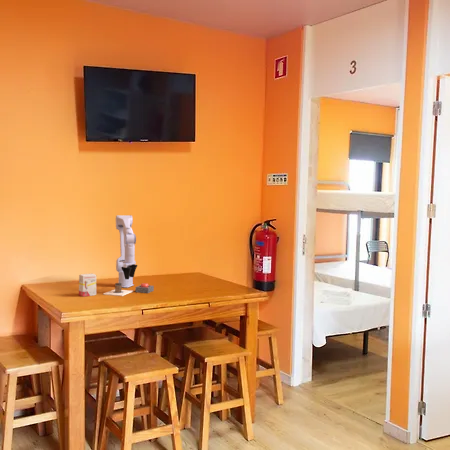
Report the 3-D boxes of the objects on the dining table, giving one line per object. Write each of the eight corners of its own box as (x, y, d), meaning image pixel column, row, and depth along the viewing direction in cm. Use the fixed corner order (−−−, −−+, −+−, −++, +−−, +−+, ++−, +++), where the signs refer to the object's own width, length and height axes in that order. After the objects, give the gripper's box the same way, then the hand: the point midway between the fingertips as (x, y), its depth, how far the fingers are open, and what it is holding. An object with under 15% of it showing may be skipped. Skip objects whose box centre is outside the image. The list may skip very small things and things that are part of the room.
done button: (142, 287, 323) (142, 283, 323) (149, 287, 322) (149, 283, 322) (139, 288, 319) (139, 284, 318) (146, 289, 317) (146, 284, 317)
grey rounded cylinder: (116, 291, 316) (116, 282, 316) (122, 291, 315) (122, 283, 315) (114, 292, 313) (114, 283, 312) (119, 292, 312) (119, 284, 311)
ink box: (82, 296, 301) (82, 275, 300) (78, 295, 305) (78, 274, 304) (96, 295, 307) (96, 274, 306) (92, 293, 311) (92, 273, 310)
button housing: (141, 289, 325) (141, 284, 325) (153, 290, 323) (153, 285, 323) (135, 292, 318) (135, 287, 317) (148, 293, 315) (148, 288, 315)
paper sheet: (114, 290, 322) (114, 289, 322) (133, 291, 319) (133, 290, 319) (103, 294, 309) (103, 293, 309) (122, 296, 306) (122, 295, 306)
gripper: (127, 253, 323) (127, 275, 324) (118, 256, 309) (118, 279, 310) (139, 253, 322) (138, 276, 323) (130, 256, 307) (129, 280, 308)
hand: (129, 278), depth 316 cm, fingers open, 7 cm apart
